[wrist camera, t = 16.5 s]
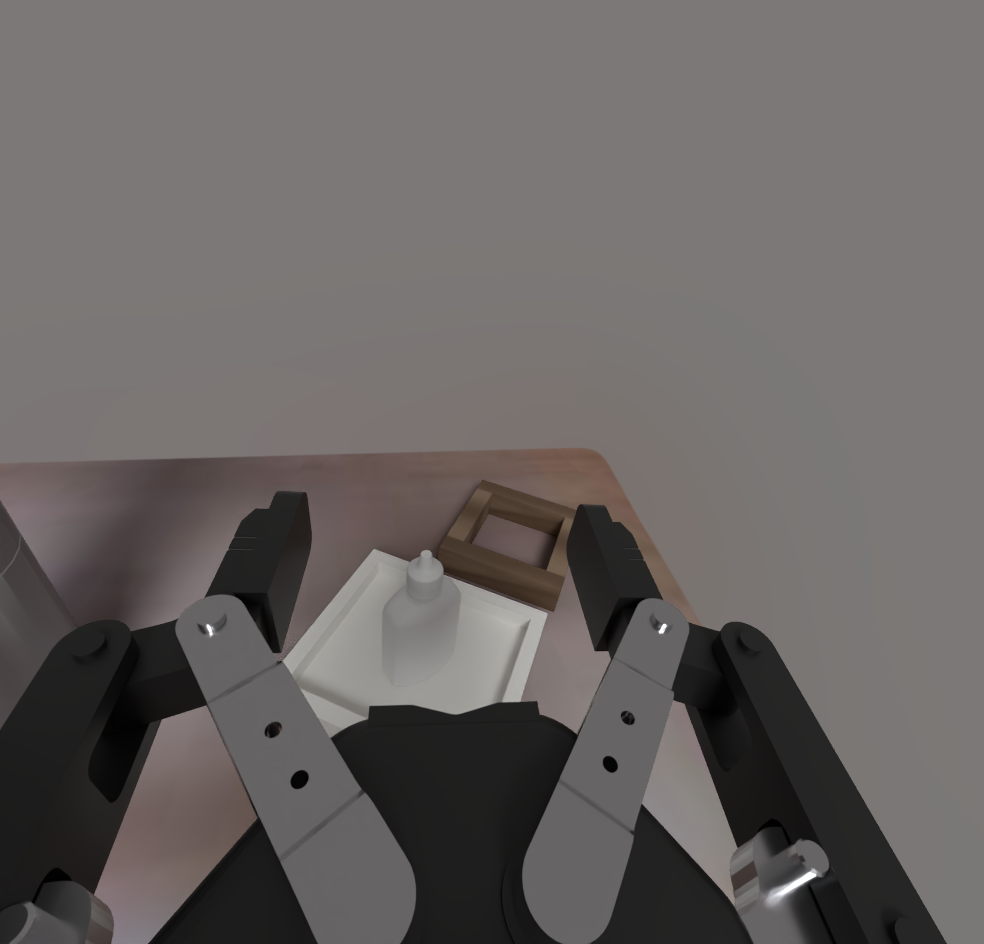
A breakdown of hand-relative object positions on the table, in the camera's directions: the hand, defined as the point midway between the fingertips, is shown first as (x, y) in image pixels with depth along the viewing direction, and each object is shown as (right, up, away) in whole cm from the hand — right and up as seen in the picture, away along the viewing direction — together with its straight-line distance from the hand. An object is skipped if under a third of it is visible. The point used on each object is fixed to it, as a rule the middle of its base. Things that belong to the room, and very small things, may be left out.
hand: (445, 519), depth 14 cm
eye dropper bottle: (-4, -14, +23) cm, 27 cm away
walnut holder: (+4, -7, +36) cm, 37 cm away
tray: (-5, -14, +24) cm, 28 cm away
